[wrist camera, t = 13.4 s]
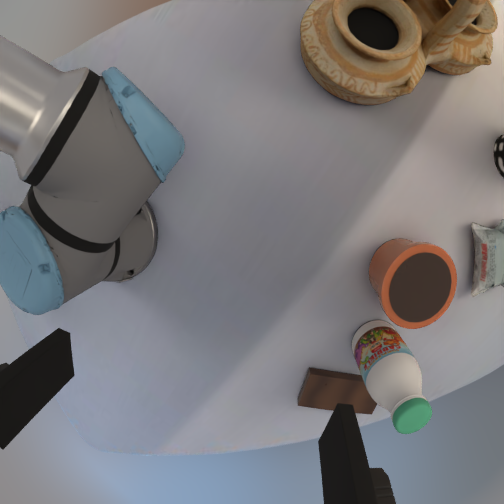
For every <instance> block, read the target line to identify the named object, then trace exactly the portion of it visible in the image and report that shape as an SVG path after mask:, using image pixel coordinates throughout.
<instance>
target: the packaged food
mask: <svg viewBox="0 0 504 504" xmlns="http://www.w3.org/2000/svg"><path fill="white" fill-rule="evenodd" d="M471 227H472V232H473V237H474V247H475V264H474V275H473V283H472V291H471V296H472V297H475V296H476V295H478V294H480V293H481V292H483V293H484V292H485V291H486V290H487V289H489V288H492V287H495V286H499V285H502V286H503V287H504V220H503V219H502V220H501V222H500V224H499V225H497V226H496V227H495V228H493V229H491V228H488V227H484V226H481V225H478V224H476V223H473V222H472V224H471Z"/></svg>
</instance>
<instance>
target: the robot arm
mask: <svg viewBox="0 0 504 504" xmlns="http://www.w3.org/2000/svg"><path fill="white" fill-rule="evenodd" d="M184 148H185V144H184V139H183V137H182V135H181V134H180V133H179V131H178V130H177V129H176V128H175V127H174V125H173V124H172V123H171V122H170V121H169V120H168V119H167V118H166V117H165V116H164V115H163V113H162V112H161V111H160V110H159V109H158V108H157V107H156V106H155V105H154V104H153V103H152V102H151V101H150V100H149V99H148V98H147V97H146V96H145V95H144V94H143V93H142V92H141V91H140V90H139V89H138V88H137V87H136V86H135V85H134V84H133V83H132V82H131V81H130V80H129V79H128V78H127V77H126V76H124V75H123V74H122V73H121V72H120V71H119V70H118V69H117V68H115V67H111V68H109V69H108V70H105V71H104V72H103V73H102V76H99V75H97V74H96V73H94V72H93V71H91V70H90V69H88V68H86V67H84V68H80V69H76V70H72V71H68V72H62V71H59V70H57V69H56V68H54V67H53V66H51V65H49V64H48V63H46V62H45V61H43V60H41V59H40V58H38V57H36V56H35V55H33V54H31V53H30V52H28V51H26V50H25V49H23V48H21V47H19V46H18V45H16V44H15V43H13V42H11V41H9V40H8V39H6V38H4V37H2V36H1V35H0V150H1V151H3V152H5V153H6V154H8V155H10V156H12V158H13V159H14V161H15V165H16V168H17V171H18V175H19V178H20V180H22V181H24V182H26V183H29V184H31V187H30V189H29V191H28V193H27V195H26V197H25V199H24V201H23V203H22V204H21V205H20V206H19V207H14V206H12V207H9V208H7V209H6V210H5V211H2V212H1V213H0V285H1V286H2V288H3V290H4V291H5V293H6V295H7V296H8V297H9V298H10V300H11V301H12V302H13V303H14V304H15V305H16V306H17V307H18V308H20V309H21V310H23V311H25V312H27V313H31V314H34V315H40V314H44V313H46V312H48V311H51V310H54V309H58V308H59V307H60V306H61V305H62V304H64V303H65V302H67V301H69V300H70V299H72V298H74V297H75V296H77V295H79V294H80V293H82V292H84V291H85V290H87V289H89V288H91V287H92V286H94V285H96V284H98V283H99V282H101V281H119V282H124V281H127V280H131V279H130V278H132V277H134V276H136V275H137V274H139V273H140V272H142V271H143V270H144V269H145V268H146V267H147V266H148V265H149V263H150V262H151V260H152V258H153V256H154V253H155V251H156V247H157V240H158V229H157V223H156V219H155V216H154V213H153V211H152V209H151V207H150V205H149V204H148V202H147V199H148V198H149V197H150V196H151V194H152V193H153V192H154V191H155V189H156V188H157V187H158V186H159V184H160V183H161V182H162V183H164V181H165V180H166V176H167V174H168V173H169V172H170V170H171V169H172V168H173V167H174V165H175V164H176V163H177V162H178V160H179V159H180V158H181V156H182V154H183V152H184ZM73 376H74V368H73V360H72V350H71V340H70V333H69V332H67V331H64V330H62V329H60V328H58V329H57V330H55V331H54V332H53V333H51V334H50V335H48V336H47V337H46V338H44V339H43V340H42V341H40V342H39V343H37V344H36V345H35V346H33V347H32V348H31V349H29V350H28V351H27V352H25V353H24V354H23V355H22V356H20V357H19V358H18V359H16V360H15V361H14V362H12V363H11V364H10V365H9V364H7V363H4V364H1V365H0V447H1V448H2V449H4V448H5V447H6V446H7V445H8V444H9V443H10V442H11V441H12V440H13V438H14V437H15V436H16V435H17V434H18V433H19V432H20V431H21V430H22V429H23V428H24V427H25V426H26V425H27V424H28V423H29V422H30V420H31V419H32V418H33V417H34V416H35V415H36V414H37V413H38V412H39V411H40V410H41V409H42V408H43V407H44V406H45V405H46V404H47V403H48V402H49V401H50V400H51V399H52V398H53V397H54V396H55V395H56V394H57V393H58V392H59V391H60V390H61V389H62V387H63V386H64V385H65V384H66V383H67V382H68V381H69V380H70V379H71V378H72V377H73ZM318 443H319V452H320V463H321V473H322V485H323V497H324V504H396V502H395V498H394V496H393V491H392V488H391V484H390V480H389V477H388V475H387V474H386V473H385V472H384V470H383V469H382V468H369V465H368V460H367V456H366V452H365V448H364V445H363V441H362V437H361V433H360V429H359V425H358V422H357V418H356V414H355V411H354V407H353V405H351V404H341V403H337V405H336V407H335V409H334V412H333V414H332V416H331V418H330V420H329V422H328V424H327V426H326V428H325V430H324V432H323V434H322V436H321V437H320V439H319V441H318Z"/></svg>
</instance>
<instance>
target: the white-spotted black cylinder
mask: <svg viewBox="0 0 504 504" xmlns="http://www.w3.org/2000/svg"><path fill="white" fill-rule="evenodd" d="M494 159H495V163H496V166H497V169H498V171H499V173H500V174H501V175H502V177H503V178H504V135H501V136H500V137H498V139H497V140H496V143H495V146H494Z"/></svg>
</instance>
